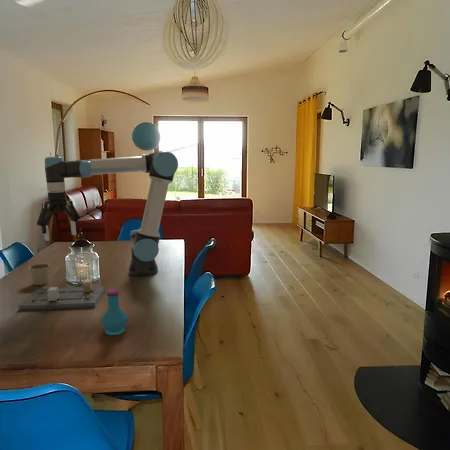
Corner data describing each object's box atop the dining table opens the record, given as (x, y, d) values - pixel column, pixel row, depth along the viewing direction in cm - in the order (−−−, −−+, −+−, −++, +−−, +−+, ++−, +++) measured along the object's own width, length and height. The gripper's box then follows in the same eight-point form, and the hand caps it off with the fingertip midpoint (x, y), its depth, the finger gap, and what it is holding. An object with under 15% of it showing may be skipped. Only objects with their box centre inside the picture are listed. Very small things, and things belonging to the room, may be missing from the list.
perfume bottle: (104, 325, 146) (102, 286, 143) (130, 324, 147) (128, 286, 144) (99, 337, 137) (96, 295, 134) (126, 335, 138) (123, 295, 135)
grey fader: (58, 297, 169) (57, 287, 168) (55, 300, 165) (54, 290, 164) (51, 297, 168) (50, 287, 168) (48, 300, 165) (47, 290, 164)
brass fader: (92, 288, 179) (91, 279, 178) (90, 291, 175) (89, 282, 174) (85, 289, 178) (85, 279, 178) (83, 292, 174) (82, 282, 174)
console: (104, 290, 183) (104, 285, 183) (95, 307, 163) (94, 301, 163) (37, 293, 180) (36, 287, 180) (19, 310, 160) (18, 304, 160)
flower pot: (43, 287, 188) (41, 269, 186) (26, 286, 190) (24, 268, 188) (55, 281, 197) (54, 264, 195) (38, 279, 199) (37, 263, 197)
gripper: (75, 188, 191) (79, 231, 195) (24, 193, 171) (30, 241, 175) (85, 189, 186) (89, 233, 190) (34, 194, 166) (39, 243, 170)
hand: (61, 237), depth 182 cm, fingers open, 13 cm apart
